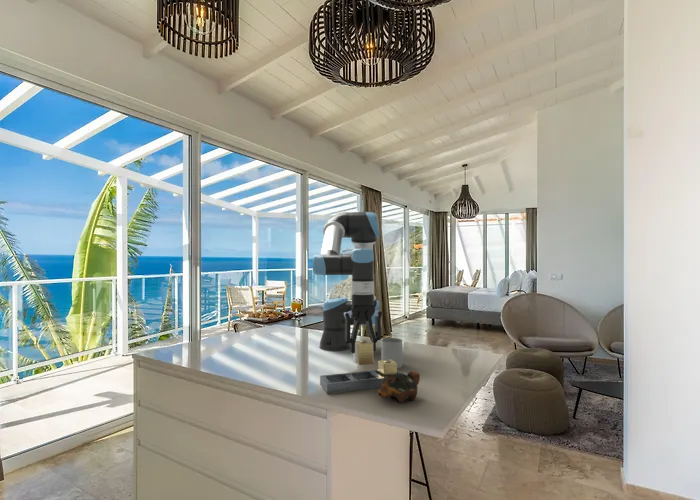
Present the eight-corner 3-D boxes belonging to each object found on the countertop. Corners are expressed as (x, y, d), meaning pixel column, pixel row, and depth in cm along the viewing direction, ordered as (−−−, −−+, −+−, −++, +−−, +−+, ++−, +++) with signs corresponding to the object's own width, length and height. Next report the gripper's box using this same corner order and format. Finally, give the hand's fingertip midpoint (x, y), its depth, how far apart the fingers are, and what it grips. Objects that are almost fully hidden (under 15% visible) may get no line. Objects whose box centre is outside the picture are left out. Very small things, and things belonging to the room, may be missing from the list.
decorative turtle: (429, 398, 122) (428, 372, 121) (392, 413, 113) (391, 385, 113) (407, 388, 130) (406, 364, 129) (371, 401, 121) (370, 375, 120)
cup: (401, 368, 153) (401, 342, 154) (380, 367, 155) (380, 342, 155) (403, 362, 162) (402, 338, 162) (383, 361, 163) (382, 337, 163)
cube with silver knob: (354, 361, 136) (353, 340, 136) (367, 360, 138) (367, 339, 138) (358, 365, 132) (358, 343, 132) (372, 364, 133) (372, 342, 133)
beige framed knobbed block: (378, 380, 139) (378, 359, 139) (391, 379, 141) (391, 358, 141) (383, 384, 134) (383, 363, 135) (397, 383, 136) (397, 362, 136)
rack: (320, 384, 135) (320, 375, 135) (394, 376, 144) (394, 368, 144) (327, 393, 126) (327, 384, 126) (406, 384, 135) (406, 375, 135)
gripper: (340, 295, 129) (341, 367, 128) (391, 293, 134) (391, 362, 134) (334, 293, 136) (334, 361, 136) (382, 291, 142) (383, 357, 141)
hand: (363, 361), depth 135 cm, fingers closed on cube with silver knob, 5 cm apart
